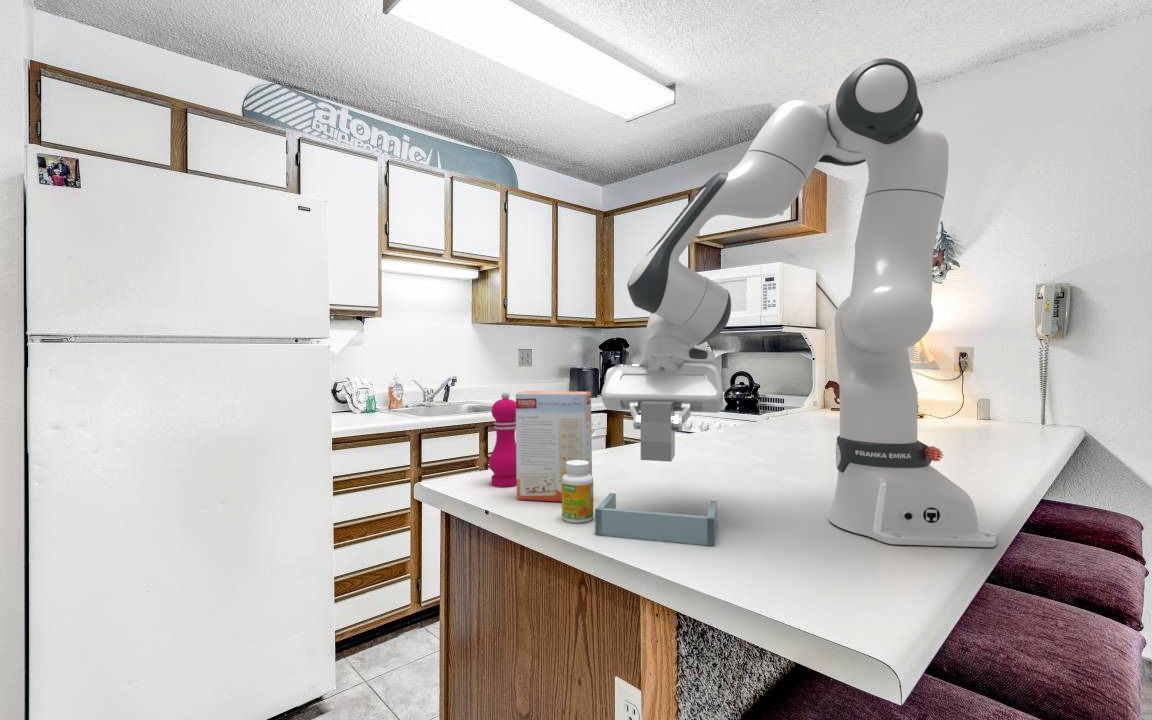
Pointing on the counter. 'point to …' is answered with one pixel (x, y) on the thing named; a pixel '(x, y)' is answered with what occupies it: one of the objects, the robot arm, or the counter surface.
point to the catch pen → (655, 524)
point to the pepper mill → (504, 443)
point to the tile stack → (657, 430)
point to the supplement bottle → (577, 492)
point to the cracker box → (550, 440)
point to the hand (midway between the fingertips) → (657, 428)
